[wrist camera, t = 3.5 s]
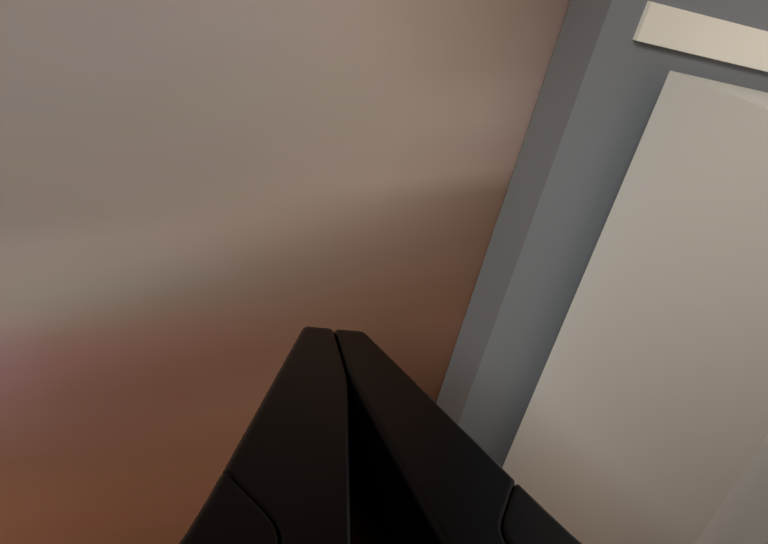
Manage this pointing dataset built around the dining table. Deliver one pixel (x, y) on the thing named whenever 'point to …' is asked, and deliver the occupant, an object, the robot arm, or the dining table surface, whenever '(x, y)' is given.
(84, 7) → the dining table surface
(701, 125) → the cover
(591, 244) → the board
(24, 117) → the dining table surface
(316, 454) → the robot arm
